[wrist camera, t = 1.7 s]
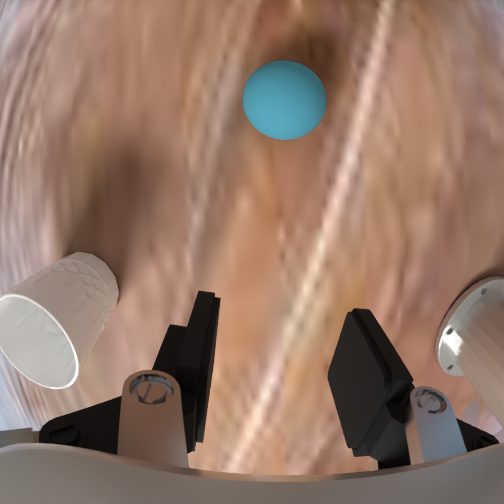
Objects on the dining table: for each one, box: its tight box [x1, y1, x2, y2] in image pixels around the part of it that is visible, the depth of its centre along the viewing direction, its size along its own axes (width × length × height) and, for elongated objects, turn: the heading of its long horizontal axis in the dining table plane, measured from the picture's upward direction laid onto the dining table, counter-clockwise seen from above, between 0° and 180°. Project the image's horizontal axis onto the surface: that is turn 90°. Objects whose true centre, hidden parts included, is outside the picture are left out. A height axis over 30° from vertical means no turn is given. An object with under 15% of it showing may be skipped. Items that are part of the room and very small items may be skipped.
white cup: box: [0, 252, 119, 389], centre depth 22 cm, size 8×8×10 cm
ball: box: [243, 60, 326, 140], centre depth 20 cm, size 6×6×6 cm
